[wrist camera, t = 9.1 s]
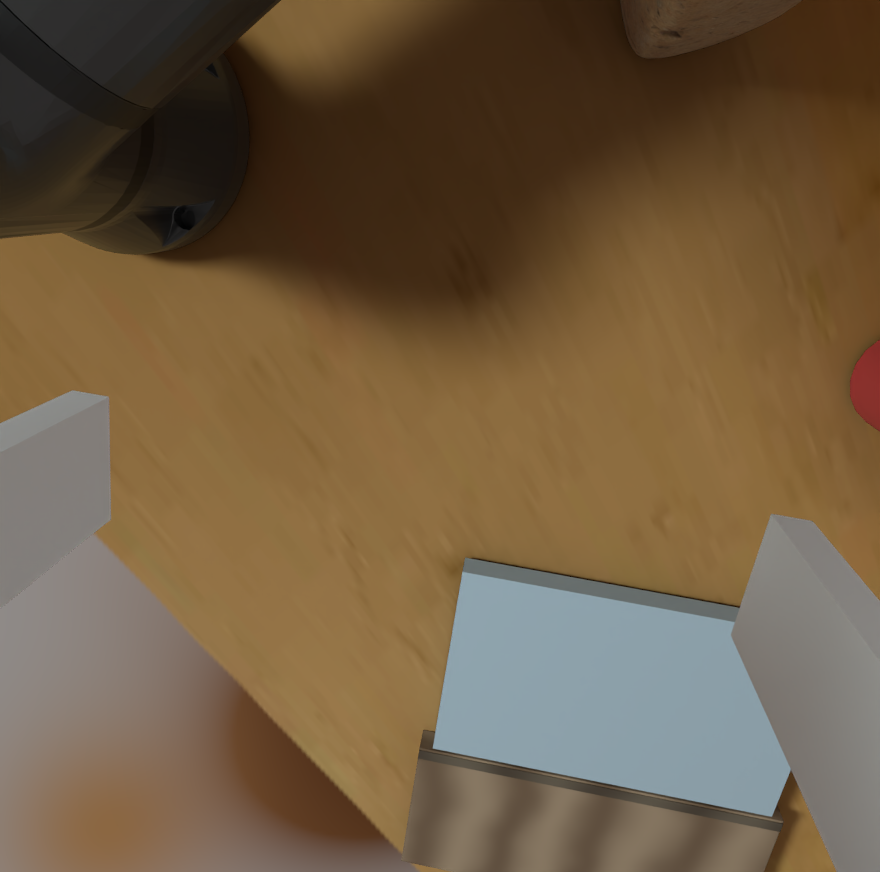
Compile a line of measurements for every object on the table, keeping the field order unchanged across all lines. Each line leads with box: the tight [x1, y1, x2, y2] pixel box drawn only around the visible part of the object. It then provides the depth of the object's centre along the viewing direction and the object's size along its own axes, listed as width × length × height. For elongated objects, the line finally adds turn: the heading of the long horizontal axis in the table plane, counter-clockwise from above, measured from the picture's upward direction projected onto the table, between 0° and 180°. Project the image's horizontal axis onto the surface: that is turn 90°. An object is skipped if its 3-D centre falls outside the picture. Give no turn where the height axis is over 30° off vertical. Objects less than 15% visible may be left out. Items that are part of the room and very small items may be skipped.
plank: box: [433, 558, 791, 817], centre depth 53 cm, size 26×16×2 cm, turn 82°
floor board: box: [402, 730, 784, 872], centre depth 58 cm, size 28×12×2 cm, turn 82°
